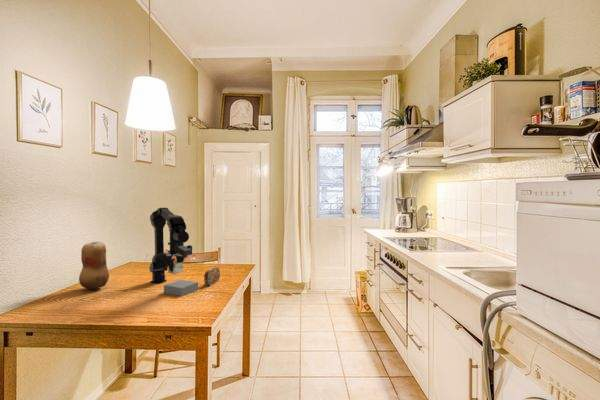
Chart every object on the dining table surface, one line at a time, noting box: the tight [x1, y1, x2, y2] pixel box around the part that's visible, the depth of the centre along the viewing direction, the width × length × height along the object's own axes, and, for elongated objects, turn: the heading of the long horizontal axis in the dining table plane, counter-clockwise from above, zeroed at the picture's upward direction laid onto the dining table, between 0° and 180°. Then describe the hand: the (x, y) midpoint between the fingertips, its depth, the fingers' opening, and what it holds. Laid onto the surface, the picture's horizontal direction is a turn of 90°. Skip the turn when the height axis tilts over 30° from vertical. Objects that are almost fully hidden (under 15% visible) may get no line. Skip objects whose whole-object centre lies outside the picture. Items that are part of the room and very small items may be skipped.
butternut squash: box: [78, 241, 110, 291], centre depth 176 cm, size 14×13×25 cm
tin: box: [203, 267, 221, 286], centre depth 189 cm, size 15×3×8 cm, turn 168°
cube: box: [167, 261, 184, 275], centre depth 172 cm, size 5×5×5 cm
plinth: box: [163, 279, 199, 297], centre depth 174 cm, size 12×12×4 cm
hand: (175, 270), depth 172 cm, fingers closed on cube, 5 cm apart
